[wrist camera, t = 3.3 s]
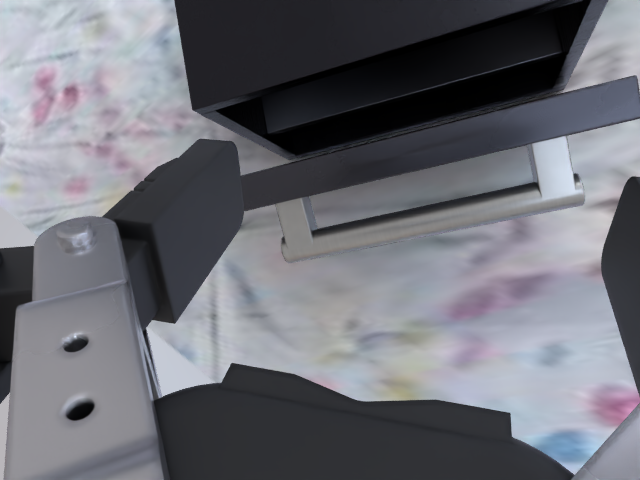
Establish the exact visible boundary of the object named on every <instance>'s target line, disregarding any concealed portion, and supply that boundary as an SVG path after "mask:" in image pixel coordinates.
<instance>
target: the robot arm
mask: <svg viewBox="0 0 640 480" xmlns="http://www.w3.org/2000/svg"><path fill="white" fill-rule="evenodd" d="M243 214H244V200H243V192H242V183H241V175H240V166H239V158H238V151H237V148H236V145H235V144H234V143H233V142H232V141H221V140H209V139H199V140H197V141H196V142H195V143H194V144H193V145H192V146H191V147H190V148H189V149H188V150H187V151H185V152H184V153H183V154H182V155H181V156H180V157H179V158H175V159H173V160H171V161H169V162H167V163H165V164H163V165H161V166H158V167H157V168H156V169H155V170H153V171H152V172H151V173H150V174H149V175H148V176H147V177H146V178H145V179H144V181H141V182H140V183H139V184H138V185H137V186H136V187H135V188H134V191H130V192H129V193H128V194H127V195H126V196H125V197H124V198H122V199H121V200H120V201H119V202H118V203H117V204H116V205H115V206H114V207H112V208H111V209H110V210H109V211H108V212H107V213H106V214H105V215H104V216H103V217H96V216H89V217H80V218H74V219H70V220H67V221H64V222H61V223H59V224H56V225H54V226H52V227H51V228H49V229H47V230H46V231H44V232H43V233H42V234H41V235H40V236H39V237H38V238H37V240H36V242H35V245H34V246H28V247H15V248H1V249H0V404H1V402H2V401H3V400H4V399H5V397H6V396H7V395H8V394H9V393H10V400H9V413H8V427H7V442H6V455H5V469H4V480H640V403H639V404H638V406H637V407H636V408H635V409H634V410H633V411H632V412H631V413H630V414H629V416H628V417H627V418H626V419H625V420H624V421H623V422H622V423H621V424H620V426H619V427H618V428H617V429H616V430H615V431H614V432H613V433H612V435H611V436H610V437H609V438H608V439H607V440H606V441H605V442H604V443H603V445H602V446H601V447H600V448H599V449H598V450H597V451H596V452H595V453H594V455H593V456H592V457H591V458H590V459H589V460H588V461H587V462H586V463H585V465H584V466H583V467H582V468H581V469H580V470H579V471H578V472H577V473H576V475H574V474H572V473H571V472H570V471H569V470H567V469H566V468H565V467H563V466H562V465H561V464H560V463H558V462H557V461H555V460H554V459H552V458H551V457H549V456H547V455H546V454H544V453H543V452H541V451H539V450H538V449H536V448H534V447H532V446H530V445H528V444H526V443H524V442H522V441H520V440H518V439H515V438H513V437H512V434H511V417H510V413H507V412H501V411H496V410H490V409H485V408H479V407H474V406H468V405H463V404H457V403H451V402H446V401H440V400H408V401H373V402H364V401H357V400H354V399H352V398H349V397H347V396H345V395H342V394H340V393H337V392H335V391H333V390H330V389H328V388H326V387H323V386H321V385H319V384H316V383H314V382H312V381H309V380H307V379H304V378H302V377H300V376H297V375H295V374H290V373H285V372H279V371H273V370H268V369H262V368H257V367H251V366H246V365H240V364H235V363H231V365H230V367H229V369H228V371H227V373H226V375H225V377H224V379H223V381H222V383H213V384H206V385H199V386H194V387H190V388H186V389H182V390H179V391H176V392H173V393H171V394H168V395H165V396H163V397H162V394H161V390H160V385H159V380H158V376H157V372H156V367H155V363H154V358H153V354H152V350H151V345H150V341H149V337H148V333H147V330H146V327H147V326H148V325H149V323H150V322H151V320H156V321H162V322H168V323H174V324H175V323H176V322H177V320H178V319H179V317H180V316H181V314H182V313H183V311H184V310H185V308H186V307H187V305H188V304H189V303H190V301H191V300H192V298H193V297H194V295H195V294H196V292H197V291H198V289H199V288H200V286H201V285H202V283H203V282H204V280H205V279H206V277H207V276H208V275H209V273H210V272H211V270H212V269H213V267H214V266H215V264H216V263H217V261H218V260H219V258H220V257H221V255H222V254H223V252H224V251H225V250H226V248H227V247H228V245H229V244H230V242H231V241H232V239H233V238H234V236H235V235H236V233H237V232H238V230H239V229H240V226H241V224H242V220H243ZM601 271H602V276H603V279H604V283H605V286H606V289H607V292H608V296H609V299H610V302H611V305H612V309H613V312H614V315H615V318H616V322H617V325H618V328H619V331H620V335H621V338H622V341H623V344H624V347H625V351H626V354H627V357H628V360H629V364H630V367H631V370H632V373H633V377H634V380H635V383H636V386H637V390H638V393H639V396H640V177H631V178H629V180H628V181H627V182H626V184H625V186H624V189H623V191H622V194H621V197H620V200H619V203H618V206H617V209H616V212H615V215H614V218H613V221H612V223H611V226H610V229H609V232H608V235H607V238H606V241H605V244H604V247H603V252H602V260H601Z"/></svg>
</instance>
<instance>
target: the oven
mask: <svg viewBox="0 0 640 480" xmlns="http://www.w3.org/2000/svg"><path fill="white" fill-rule="evenodd" d="M174 1H175V7H176V13H177V19H178V25H179V31H180V37H181V43H182V50H183V56H184V62H185V68H186V74H187V80H188V86H189V92H190V98H191V104H192V110H193V111H195V112H197V113H199V114H201V115H202V116H204V117H206V118H208V119H210V120H212V121H214V122H216V123H218V124H220V125H222V126H224V127H226V128H228V129H230V130H231V131H233V132H235V133H237V134H239V135H241V136H243V137H245V138H247V139H249V140H251V141H253V142H255V143H257V144H259V145H261V146H263V147H264V148H266V149H268V150H270V151H272V152H274V153H276V154H278V155H280V156H282V157H284V158H286V159H288V160H292V159H295V158H299V157H303V156H307V155H311V154H315V153H319V152H323V151H326V150H330V149H334V148H338V147H342V146H346V145H350V144H354V143H357V142H361V141H365V140H369V139H373V138H377V137H381V136H385V135H389V134H392V133H396V132H400V131H404V130H408V129H412V128H416V127H420V126H423V125H427V124H431V123H435V122H439V121H443V120H447V119H451V118H455V117H458V116H462V115H466V114H470V113H474V112H478V111H482V110H486V109H489V108H493V107H497V106H501V105H505V104H509V103H513V102H517V101H521V100H524V99H528V98H532V97H536V96H540V95H544V94H548V93H552V92H555V91H559V90H563V89H564V88H565V86H566V84H567V82H568V80H569V78H570V76H571V74H572V72H573V70H574V68H575V66H576V64H577V62H578V60H579V58H580V56H581V54H582V52H583V50H584V48H585V46H586V44H587V42H588V40H589V38H590V36H591V34H592V32H593V30H594V28H595V26H596V24H597V22H598V20H599V18H600V16H601V14H602V12H603V10H604V8H605V6H606V4H607V2H608V0H174Z"/></svg>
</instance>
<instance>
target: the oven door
mask: <svg viewBox="0 0 640 480" xmlns="http://www.w3.org/2000/svg"><path fill="white" fill-rule="evenodd" d="M636 119H640V92H639V85H638V79H637V76H635V75H634V76H630V77H626V78H622V79H618V80H614V81H610V82H606V83H602V84H598V85H594V86H589V87H585V88H581V89H577V90H573V91H569V92H565V93H561V94H557V95H553V96H549V97H546V98H542V99H538V100H534V101H530V102H526V103H522V104H518V105H514V106H510V107H506V108H503V109H499V110H495V111H491V112H487V113H483V114H479V115H475V116H471V117H467V118H463V119H460V120H456V121H452V122H448V123H444V124H440V125H436V126H432V127H428V128H424V129H420V130H417V131H413V132H409V133H405V134H401V135H397V136H393V137H389V138H385V139H381V140H378V141H374V142H370V143H366V144H362V145H358V146H354V147H350V148H346V149H342V150H338V151H335V152H331V153H327V154H323V155H319V156H315V157H311V158H307V159H303V160H299V161H295V162H292V163H288V164H284V165H280V166H276V167H272V168H269V169H265V170H261V171H257V172H253V173H250V174H246V175H242V176H241V183H242V192H243V200H244V211H248V210H252V209H256V208H260V207H265V206H269V205H273V204H275V205H276V209H277V212H278V216H279V220H280V224H281V227H282V231H283V235H284V237H282V240H281V249H282V254H283V257H284V259H285V261H286V262H287V263H294V262H299V261H304V260H310V259H315V258H320V257H325V256H330V255H335V254H340V253H345V252H350V251H355V250H360V249H365V248H370V247H375V246H380V245H385V244H390V243H395V242H400V241H405V240H410V239H415V238H420V237H425V236H430V235H435V234H440V233H445V232H450V231H456V230H461V229H466V228H471V227H476V226H481V225H486V224H491V223H496V222H501V221H506V220H511V219H516V218H521V217H526V216H531V215H536V214H541V213H546V212H551V211H556V210H561V209H566V208H571V207H576V206H581V205H584V202H585V193H584V188H583V184H582V181H581V178H580V176H579V175H578V174H576V173H575V174H573V170H572V164H571V158H570V152H569V147H568V141H567V135H572V134H576V133H580V132H584V131H589V130H593V129H597V128H602V127H606V126H610V125H614V124H619V123H623V122H627V121H631V120H636ZM525 145H527V148H528V153H529V158H530V164H531V169H532V174H533V180H534V182H533V183H528V184H524V185H519V186H515V187H510V188H505V189H501V190H496V191H491V192H487V193H482V194H477V195H473V196H468V197H463V198H459V199H454V200H449V201H445V202H440V203H435V204H431V205H426V206H421V207H417V208H412V209H408V210H403V211H398V212H394V213H389V214H384V215H380V216H375V217H370V218H366V219H361V220H356V221H352V222H347V223H342V224H338V225H333V226H328V227H324V228H319V229H318V228H317V224H316V220H315V216H314V212H313V208H312V204H311V201H310V197H309V196H311V195H316V194H320V193H324V192H329V191H333V190H337V189H341V188H346V187H350V186H354V185H358V184H363V183H367V182H371V181H375V180H380V179H384V178H388V177H393V176H397V175H401V174H405V173H410V172H414V171H418V170H422V169H427V168H431V167H435V166H439V165H444V164H448V163H452V162H456V161H461V160H465V159H469V158H474V157H478V156H482V155H486V154H491V153H495V152H499V151H503V150H508V149H512V148H516V147H520V146H525Z"/></svg>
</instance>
